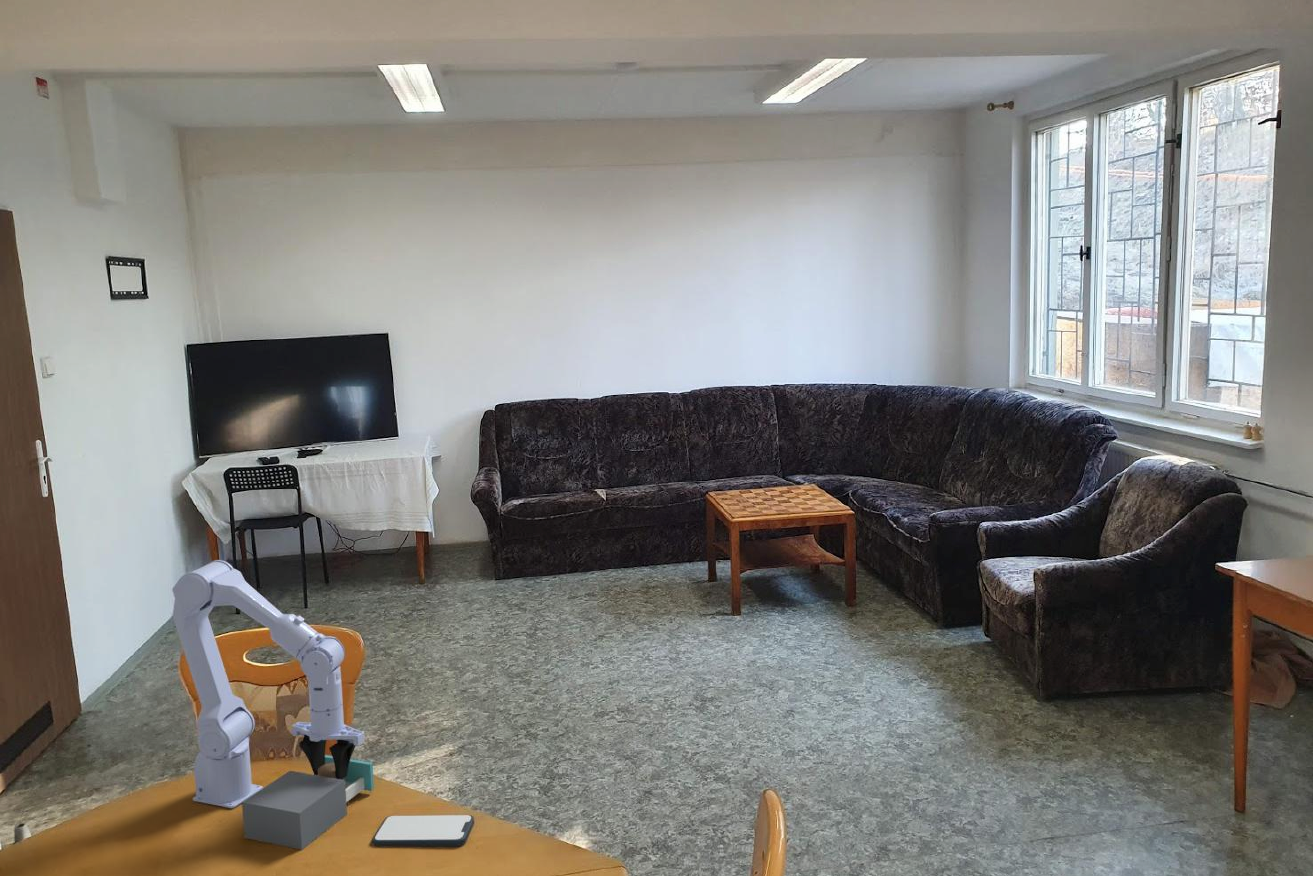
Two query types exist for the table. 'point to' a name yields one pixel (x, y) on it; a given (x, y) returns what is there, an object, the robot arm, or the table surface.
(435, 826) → the smartphone
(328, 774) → the brown cork
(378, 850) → the table surface
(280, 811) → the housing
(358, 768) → the tray
